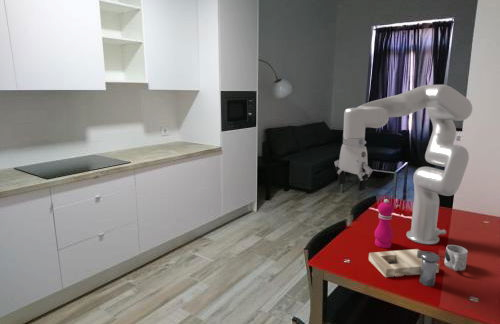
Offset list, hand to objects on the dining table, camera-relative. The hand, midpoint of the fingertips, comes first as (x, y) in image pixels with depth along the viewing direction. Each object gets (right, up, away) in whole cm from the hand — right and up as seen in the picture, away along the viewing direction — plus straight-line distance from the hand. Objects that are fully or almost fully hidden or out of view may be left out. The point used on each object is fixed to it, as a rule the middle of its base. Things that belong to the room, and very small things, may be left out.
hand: (351, 187), depth 123 cm
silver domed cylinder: (+21, -31, -13) cm, 40 cm away
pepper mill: (+18, -25, +14) cm, 34 cm away
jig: (+18, -29, -3) cm, 34 cm away
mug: (+36, -29, -5) cm, 47 cm away
